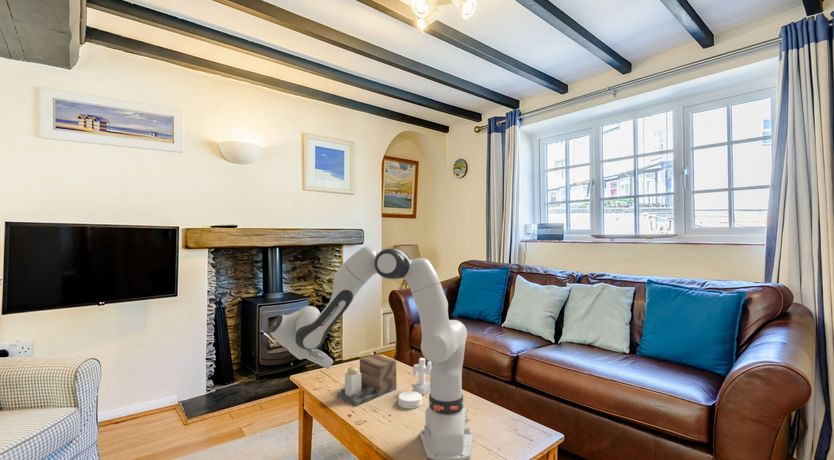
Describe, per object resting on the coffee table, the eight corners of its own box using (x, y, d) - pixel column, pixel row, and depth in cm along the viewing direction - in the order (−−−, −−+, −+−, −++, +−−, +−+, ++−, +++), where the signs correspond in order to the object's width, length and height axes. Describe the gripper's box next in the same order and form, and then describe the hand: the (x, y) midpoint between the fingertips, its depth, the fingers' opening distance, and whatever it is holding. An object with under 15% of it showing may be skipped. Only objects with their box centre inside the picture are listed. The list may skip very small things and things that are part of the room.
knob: (351, 397, 159) (351, 371, 159) (345, 394, 162) (344, 368, 162) (361, 393, 162) (361, 368, 162) (354, 390, 166) (354, 365, 166)
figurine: (418, 386, 173) (418, 354, 173) (435, 391, 168) (435, 358, 168) (409, 392, 168) (408, 358, 168) (426, 397, 162) (425, 363, 162)
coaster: (423, 398, 161) (422, 390, 161) (420, 410, 151) (420, 401, 151) (400, 398, 162) (399, 390, 162) (396, 409, 152) (396, 400, 152)
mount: (356, 406, 155) (356, 374, 155) (337, 396, 165) (336, 366, 165) (396, 389, 171) (396, 360, 171) (376, 380, 181) (376, 353, 181)
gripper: (322, 345, 140) (344, 365, 147) (296, 334, 154) (317, 352, 161) (312, 360, 137) (335, 379, 144) (285, 348, 151) (307, 365, 158)
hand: (325, 365), depth 153 cm, fingers closed
